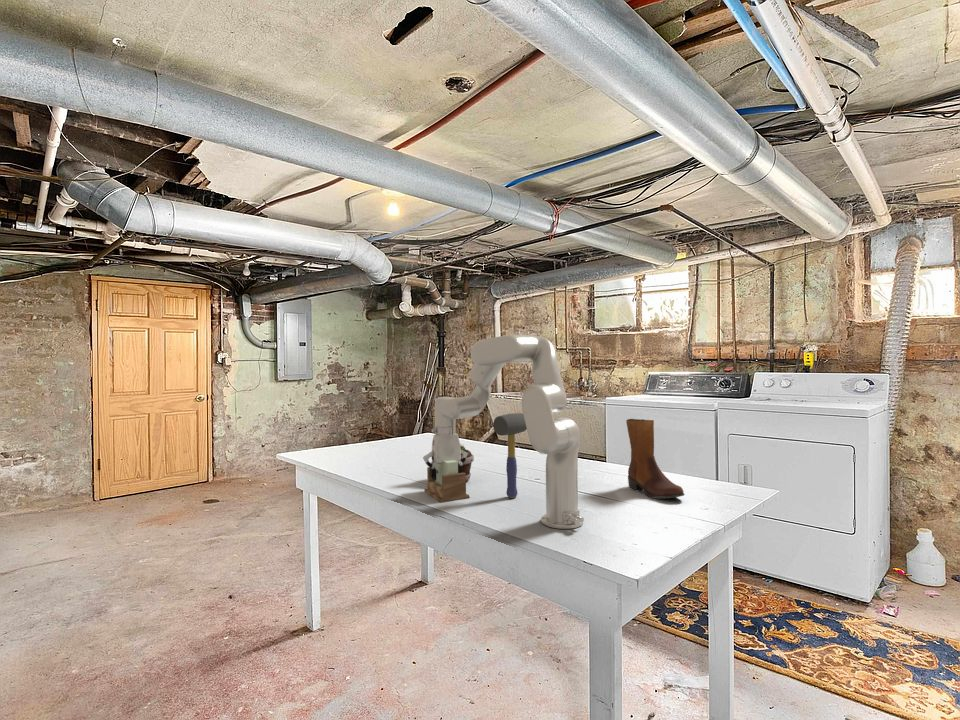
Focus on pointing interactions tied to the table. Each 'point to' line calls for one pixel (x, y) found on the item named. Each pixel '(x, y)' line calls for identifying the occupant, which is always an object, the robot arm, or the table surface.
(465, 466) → the flowerpot
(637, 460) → the boot
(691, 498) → the table surface
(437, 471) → the door panel
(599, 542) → the table surface
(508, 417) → the rubber mallet
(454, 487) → the wooden holder
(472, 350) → the robot arm
